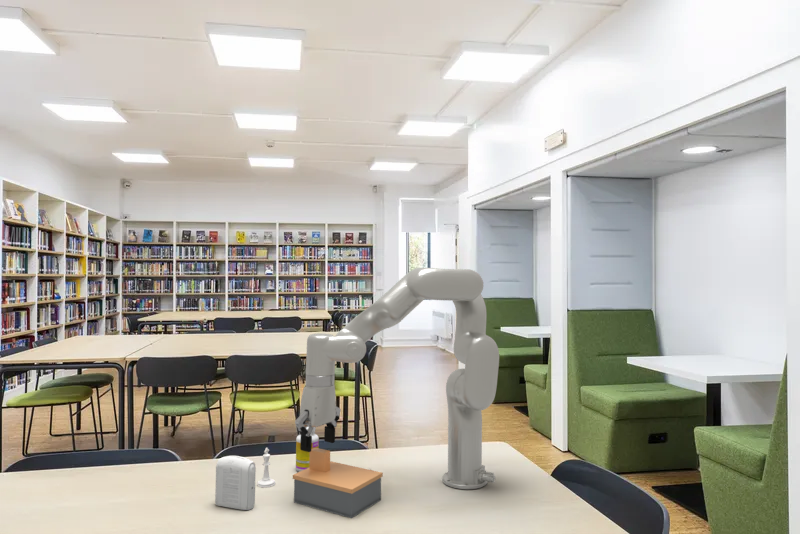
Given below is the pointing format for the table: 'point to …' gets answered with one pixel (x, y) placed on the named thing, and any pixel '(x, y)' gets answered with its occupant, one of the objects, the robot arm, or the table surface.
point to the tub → (337, 498)
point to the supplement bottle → (304, 456)
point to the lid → (335, 473)
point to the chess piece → (266, 472)
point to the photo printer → (235, 483)
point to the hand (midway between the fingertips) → (317, 446)
